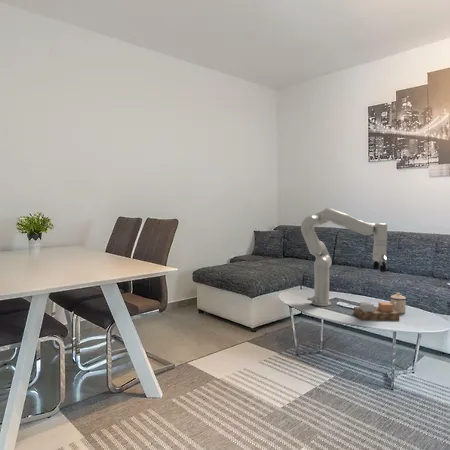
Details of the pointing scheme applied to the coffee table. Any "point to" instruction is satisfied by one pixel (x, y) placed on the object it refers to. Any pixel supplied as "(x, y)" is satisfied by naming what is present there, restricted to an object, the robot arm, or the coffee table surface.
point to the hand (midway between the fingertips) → (379, 270)
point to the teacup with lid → (398, 302)
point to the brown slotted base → (376, 314)
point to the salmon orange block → (385, 307)
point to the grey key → (366, 307)
